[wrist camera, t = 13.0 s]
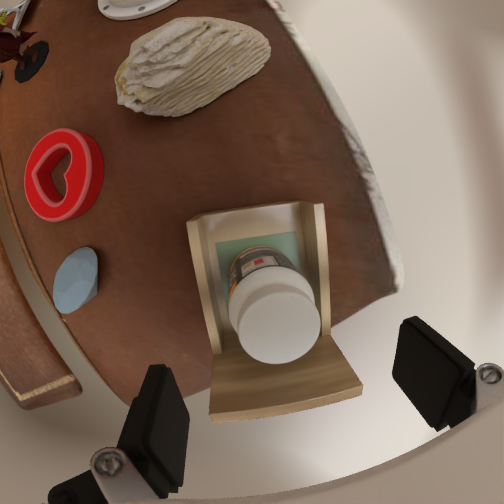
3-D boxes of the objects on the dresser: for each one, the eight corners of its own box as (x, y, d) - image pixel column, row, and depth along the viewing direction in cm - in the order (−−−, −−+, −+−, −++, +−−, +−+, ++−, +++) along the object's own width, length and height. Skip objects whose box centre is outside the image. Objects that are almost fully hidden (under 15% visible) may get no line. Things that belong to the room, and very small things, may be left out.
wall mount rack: (19, 24, 13) (-14, 25, 8) (5, 68, 21) (-21, 70, 16) (51, -37, 10) (24, -38, 5) (27, 8, 17) (4, 8, 13)
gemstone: (121, 319, 24) (86, 302, 20) (74, 330, 25) (42, 315, 21) (123, 255, 28) (95, 231, 24) (80, 273, 29) (53, 253, 25)
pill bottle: (217, 260, 23) (209, 308, 14) (279, 234, 23) (312, 264, 14) (243, 314, 25) (252, 383, 15) (301, 290, 25) (339, 347, 15)
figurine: (12, 90, 19) (-59, 68, 5) (19, 51, 18) (-40, 21, 3) (45, 70, 20) (-27, 32, 5) (53, 30, 18) (-5, -13, 3)
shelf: (197, 213, 26) (160, 239, 12) (300, 199, 26) (368, 210, 12) (218, 326, 28) (212, 423, 15) (310, 311, 29) (362, 395, 15)
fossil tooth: (275, 73, 24) (150, 144, 23) (243, 33, 22) (121, 100, 22) (316, 16, 13) (115, 111, 12) (266, -32, 11) (79, 51, 11)
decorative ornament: (35, 151, 22) (19, 149, 19) (97, 119, 22) (84, 112, 19) (47, 228, 24) (31, 232, 21) (111, 204, 25) (97, 206, 22)
